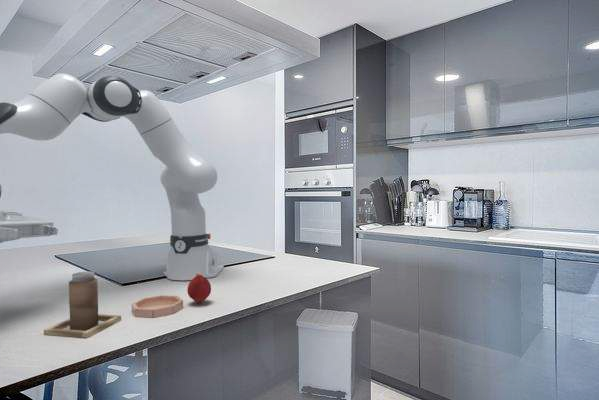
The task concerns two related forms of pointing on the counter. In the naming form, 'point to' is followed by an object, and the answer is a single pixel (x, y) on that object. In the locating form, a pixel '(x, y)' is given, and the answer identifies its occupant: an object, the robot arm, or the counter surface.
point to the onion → (199, 288)
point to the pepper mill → (83, 301)
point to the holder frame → (58, 330)
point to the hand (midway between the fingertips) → (38, 232)
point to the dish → (157, 306)
